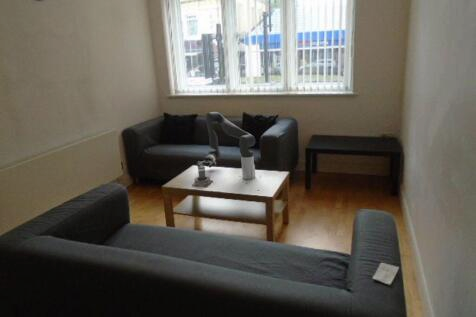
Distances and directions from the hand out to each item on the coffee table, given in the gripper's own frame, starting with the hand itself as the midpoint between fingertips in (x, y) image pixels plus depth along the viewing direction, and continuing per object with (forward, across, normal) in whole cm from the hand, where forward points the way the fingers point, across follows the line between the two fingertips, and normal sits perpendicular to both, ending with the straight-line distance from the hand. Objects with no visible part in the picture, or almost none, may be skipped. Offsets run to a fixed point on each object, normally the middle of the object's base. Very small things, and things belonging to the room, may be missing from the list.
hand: (204, 166), depth 284 cm
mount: (+8, 0, +11) cm, 14 cm away
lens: (+7, 0, +10) cm, 13 cm away
